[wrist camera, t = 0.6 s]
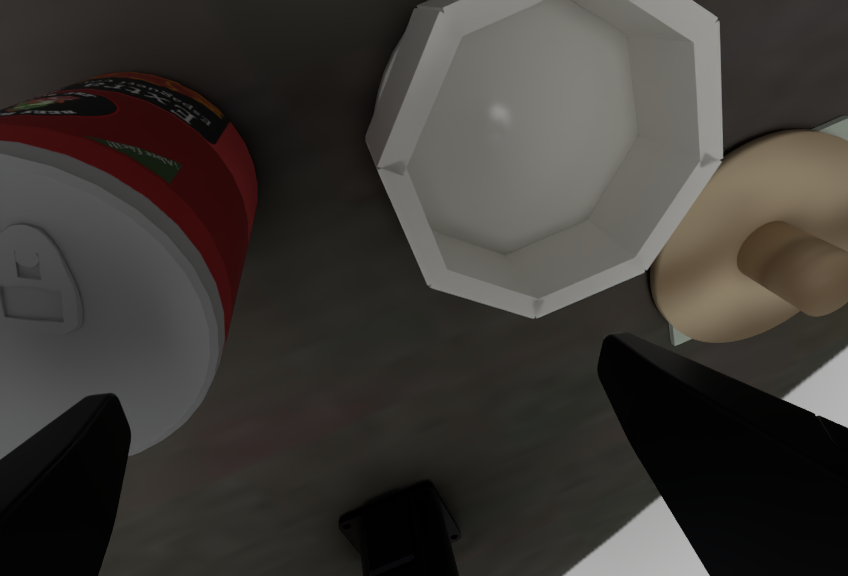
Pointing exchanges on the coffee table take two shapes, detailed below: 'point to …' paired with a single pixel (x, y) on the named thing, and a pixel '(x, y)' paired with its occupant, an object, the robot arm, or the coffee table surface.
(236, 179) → the canned food
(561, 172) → the bowl
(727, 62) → the coffee table surface
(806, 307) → the lid
